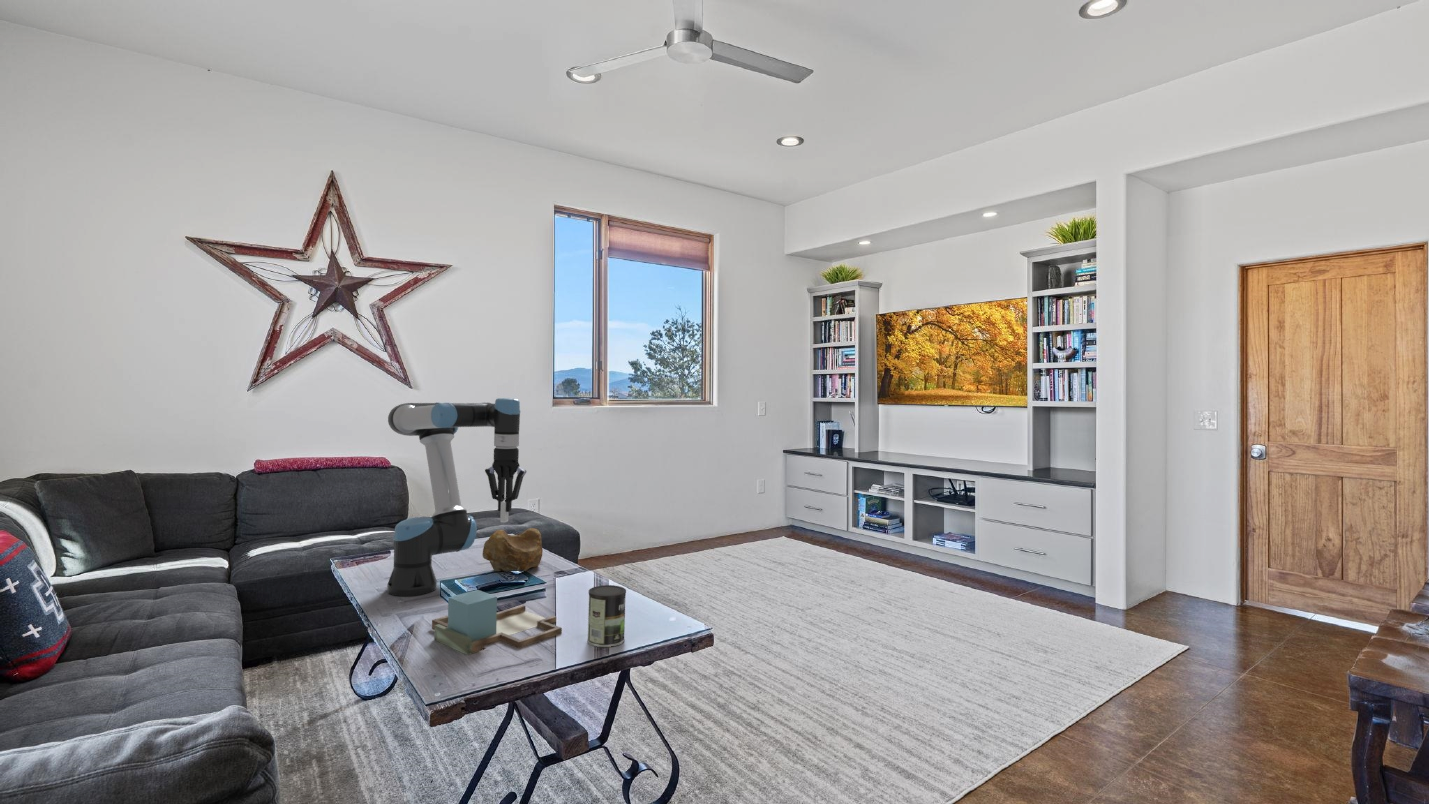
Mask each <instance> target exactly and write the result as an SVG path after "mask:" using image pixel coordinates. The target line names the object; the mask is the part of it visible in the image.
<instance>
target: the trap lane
mask: <svg viewBox="0 0 1429 804" xmlns="http://www.w3.org/2000/svg"><path fill="white" fill-rule="evenodd" d="M554 623H557V616H555V615H551V616H549V617H544V616H541V615H538V614H536V613H533V612H530V611H526V605H523V604H522V605H518V606H515V607H512V608H509V609H505V610H502V611H499V612H497V625H496V634H495V635H492V636H489V637H486V638H483V639H480V640H476V641H473V642H472V638H470V637H468V636H465V635H463V634H461V633H458V632H456V631H454V630H451V629H449V628H448V615H446V616H442V617H438V618H435V619H431V629H432V630H433V631H434V638H433V639H434V641H436V642H438V643H440V644H443V645H445V646H447V647H449V648H452V649H453V650H456V651H458V652H460V653H462V654H464V655H466V656H468V655H471V654H474V653H477V652H481V651H483V650H486V649H487V648H485V646H488V645H491V644H494V643H498V642H499V641H500V642H503V643H506V644H508V645H511V646H513V647H515V648H518V649H520V648H523V647H526V646H528V645H531V644H535V643H537V642H540V641H543V640H546V639H549V638H552V637H555V636H558V635H561V634H562V631H563V628H562V627H561V626H558V625H555V624H554ZM536 627H538V628H540V629H543V630H545V631H542V632H539V633H537V634H533V635H530V636H527V637H525V638H521V639H519V638H516V637H514V636H513V635H514V634H518V633H522V632H524V631H527V630H530V629H533V628H536Z"/></svg>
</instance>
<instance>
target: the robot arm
mask: <svg viewBox="0 0 1429 804" xmlns="http://www.w3.org/2000/svg"><path fill="white" fill-rule="evenodd" d="M520 405H521V404H520V400H519V399H518V398H509V397H508V398H507V397H506V398H505V397H503V398H502V397H500V398H499V397H498V398H496V399H495V401H494V403H491V402H481V403H480V402H479V403H477V402H476V403H474V402H472V403H469V402H466V403H463V402H462V403H461V402H459V403H457V402H453V403H451V402H406V403H400V404H398V405H395V406H394V407H393V408H392V409H391V410H390V412H389V413H388V416H387V422H388V425H389V428H390V429H391V430H392V431H393V432H395V433H397V434H399V435H402V436H409V437H414V436H417V437H419V438H418V439H419V443H420V444H421V445H423V446H424V447H425V453H426V460H427V466H428V474H429V479H430V485H431V492H432V498H433V505H434V509H435V510H434V513H433V514H432V515H431V517H429V516H420V517H418V516H417V517H416V516H415V517H411V518H407V519H403V520H401V521H400V522H398V523H397V524H396V525H395V527H394V535H393V568H392V571H391V574H390V576H389V579H388V583H387V586H386V587H387V588H386V592H387V594H389V595H392V596H398V597H409V596H410V597H412V596H420V595H424V594H428V593H431V592H433V591H435V590H437V587H438V585H437V584H438V583H437V577H436V574H435V571H434V569H433V563H432V559H433V557H432V556H437V555H442V554H447V553H454V552H456V553H458V552H460V551H464V550H467V549H469V548H471V547H473V544H474V543H475V540H476V537H477V533H478V531H477V522H476V519H475V518H474V517H473V516H472V515H468V511H467V509H466V508H464V507H463V506H462V504H461V498H460V497H461V496H460V490H459V484H458V479H457V472H456V467H455V461H454V454H453V450H452V449H453V448H452V447H453V446H452V443H451V442H452V441H453V439H454V438H455V434H456V433H457V431H458V430H459V428H475V427H476V428H478V427H479V428H480V427H481V428H482V427H483V428H484V427H488V428H489V427H491V428H494V434H493V435H494V437H493V446H494V449H493V462H492V464H491V466H490V467H488V468H485V469H484V473H485V474H486V476H487V478H488V483H489V488H490V493H491V498H492V499H493V500H495V501H497V511H498V512H500V513H499V515H500V516H499V517H500V519H499V523H503V524H506V523H508V522H509V514H510V513H509V512H511V511H512V505H513V501H515V500H517V499H518V497H519V495H520V490H521V487H522V484H523V483H522V482H523V478H524V477H525V475H526V474H527V470H526V469H523V468H522V467H520V463H519V450H520V449H519V448H518V447H519V446H520V423H521V422H520V419H521V407H520ZM495 473H496V474H495ZM515 474H516V475H517V476H516V479H515V482H513V481H514V475H515ZM496 475H497V477H496ZM496 478H497V479H496ZM513 483H514V484H513Z"/></svg>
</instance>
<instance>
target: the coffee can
mask: <svg viewBox="0 0 1429 804" xmlns="http://www.w3.org/2000/svg"><path fill="white" fill-rule="evenodd" d="M626 593H627V589H626V588H624V587H622V586H619V585H614V584H613V585H611V584H607V585H605V584H604V585H597V586H593V587H591V588H589V590H588V621H587V626H588V627H587V644H589V645H590V646H592V647H593V646H594V647H596V646H597V648H612V647H611V646H614V647H617V645H618V646H619V645H622V644H623V643H624V642H625V627H626V626H625V624H626V619H625V618H626V597H627V596H626Z"/></svg>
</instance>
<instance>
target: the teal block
mask: <svg viewBox="0 0 1429 804" xmlns="http://www.w3.org/2000/svg"><path fill="white" fill-rule="evenodd" d="M447 599H448V601H447V603H448V605H447V616H448V623H447V624H448V628H449V629H451V630H454V631H456V632H458V633H461V634H463V635H465V636H468V637H470V638H472V642H473V641H476V640H480V639H483V638H486V637H489V636H492V635H495V634H496V625H497V613H498V612H497V611H498V596H497V595H494V594H490V593H487V592H485V591H482V590H479V589H475V590H470V591H468V592H467V591H466V592H463V593H460V594H457V595H451V596H449V597H447Z"/></svg>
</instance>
